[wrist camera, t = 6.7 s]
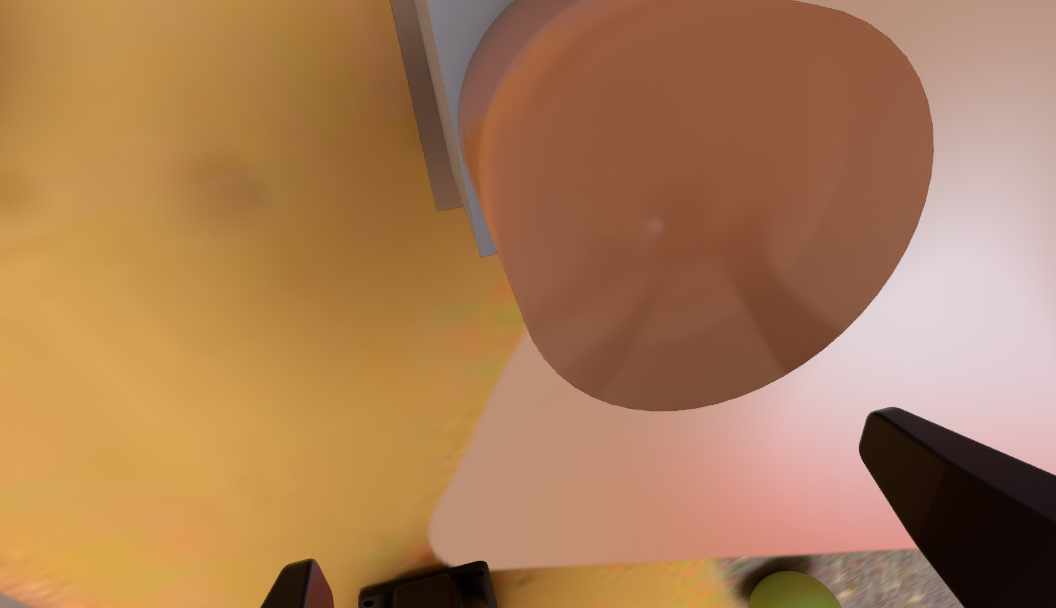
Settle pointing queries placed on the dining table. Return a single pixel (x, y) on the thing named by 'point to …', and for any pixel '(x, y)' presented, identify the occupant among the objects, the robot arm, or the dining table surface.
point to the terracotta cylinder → (692, 185)
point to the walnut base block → (425, 106)
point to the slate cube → (457, 83)
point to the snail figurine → (791, 592)
